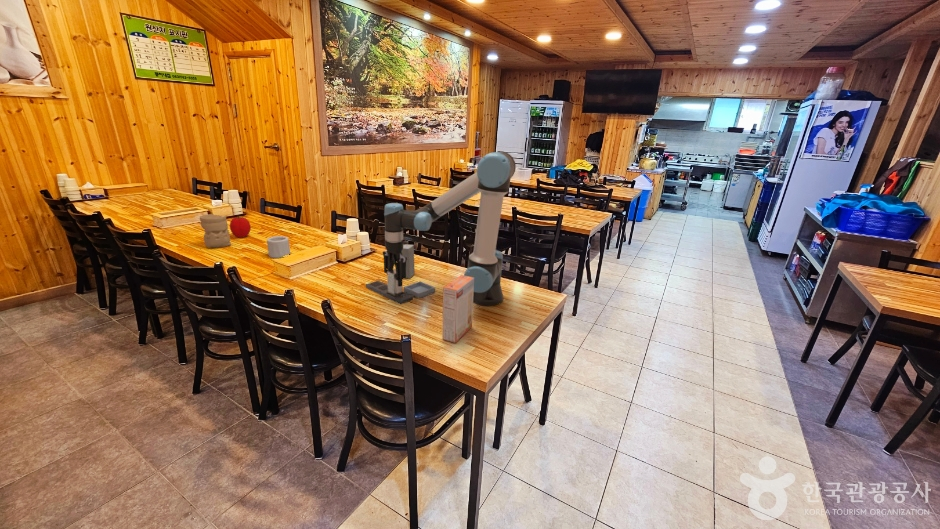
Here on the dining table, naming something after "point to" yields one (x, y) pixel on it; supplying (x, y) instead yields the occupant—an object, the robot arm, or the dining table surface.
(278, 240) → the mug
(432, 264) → the dining table surface
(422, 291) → the parts tray
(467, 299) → the cracker box
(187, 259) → the dining table surface
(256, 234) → the dining table surface
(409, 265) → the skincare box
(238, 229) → the red apple
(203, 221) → the container
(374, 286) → the rail
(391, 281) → the block
